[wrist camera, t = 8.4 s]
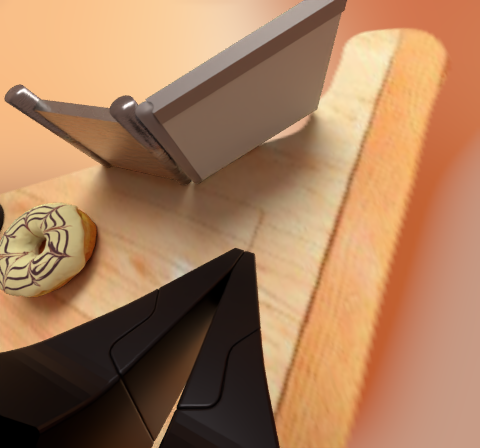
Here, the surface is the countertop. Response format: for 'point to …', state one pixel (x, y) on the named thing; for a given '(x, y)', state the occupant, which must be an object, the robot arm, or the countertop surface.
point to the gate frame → (102, 132)
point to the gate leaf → (245, 90)
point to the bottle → (1, 216)
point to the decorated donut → (45, 249)
